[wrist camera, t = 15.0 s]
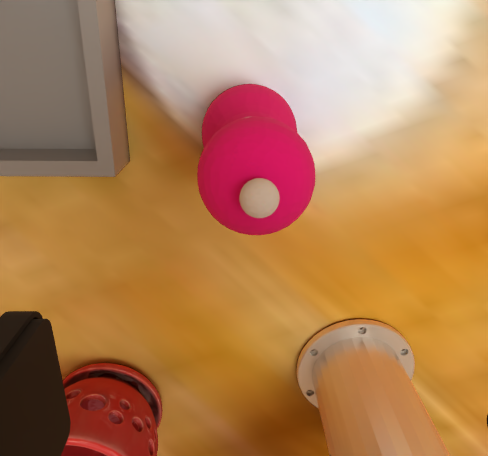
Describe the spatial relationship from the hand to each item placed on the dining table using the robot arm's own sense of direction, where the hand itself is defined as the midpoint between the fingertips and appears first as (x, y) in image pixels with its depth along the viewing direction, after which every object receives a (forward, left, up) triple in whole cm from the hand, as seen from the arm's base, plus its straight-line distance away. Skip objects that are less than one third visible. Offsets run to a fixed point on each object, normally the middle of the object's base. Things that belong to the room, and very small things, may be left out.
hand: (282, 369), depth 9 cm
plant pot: (-30, +15, -30) cm, 45 cm away
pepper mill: (0, 0, -30) cm, 30 cm away
